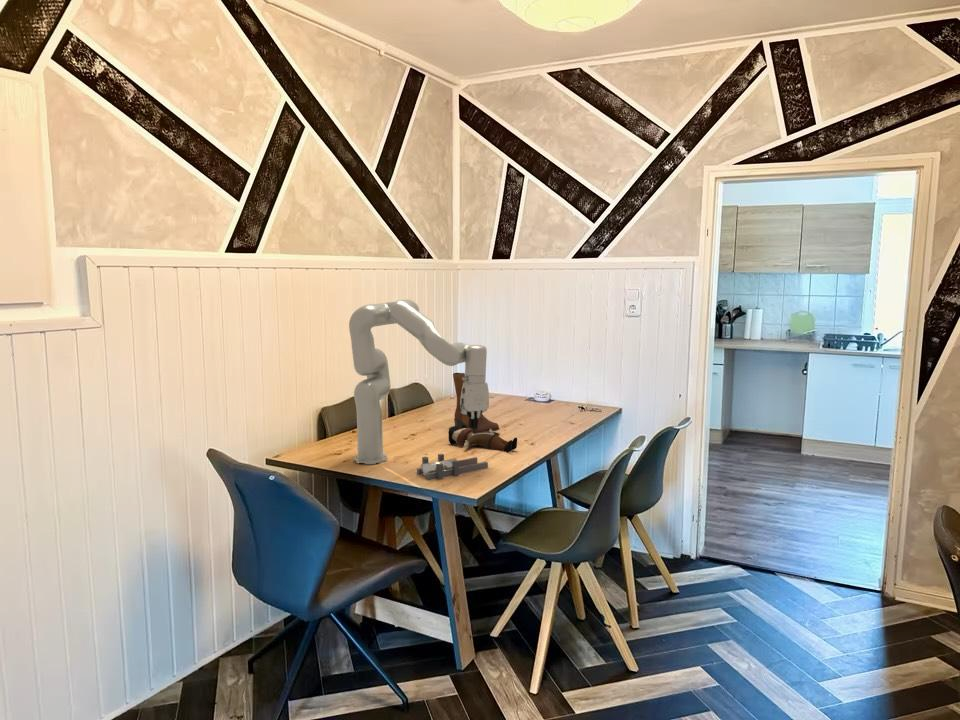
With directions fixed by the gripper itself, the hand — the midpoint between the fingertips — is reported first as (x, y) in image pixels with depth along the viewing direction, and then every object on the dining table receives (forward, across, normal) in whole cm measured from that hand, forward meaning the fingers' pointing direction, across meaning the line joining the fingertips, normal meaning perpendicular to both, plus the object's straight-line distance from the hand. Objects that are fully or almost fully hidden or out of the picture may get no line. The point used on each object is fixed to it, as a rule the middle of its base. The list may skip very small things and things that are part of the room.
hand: (473, 428), depth 231 cm
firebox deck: (+15, -9, -1) cm, 18 cm away
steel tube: (+14, -14, -2) cm, 20 cm away
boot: (+16, +33, +46) cm, 59 cm away
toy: (+16, +19, +21) cm, 32 cm away
